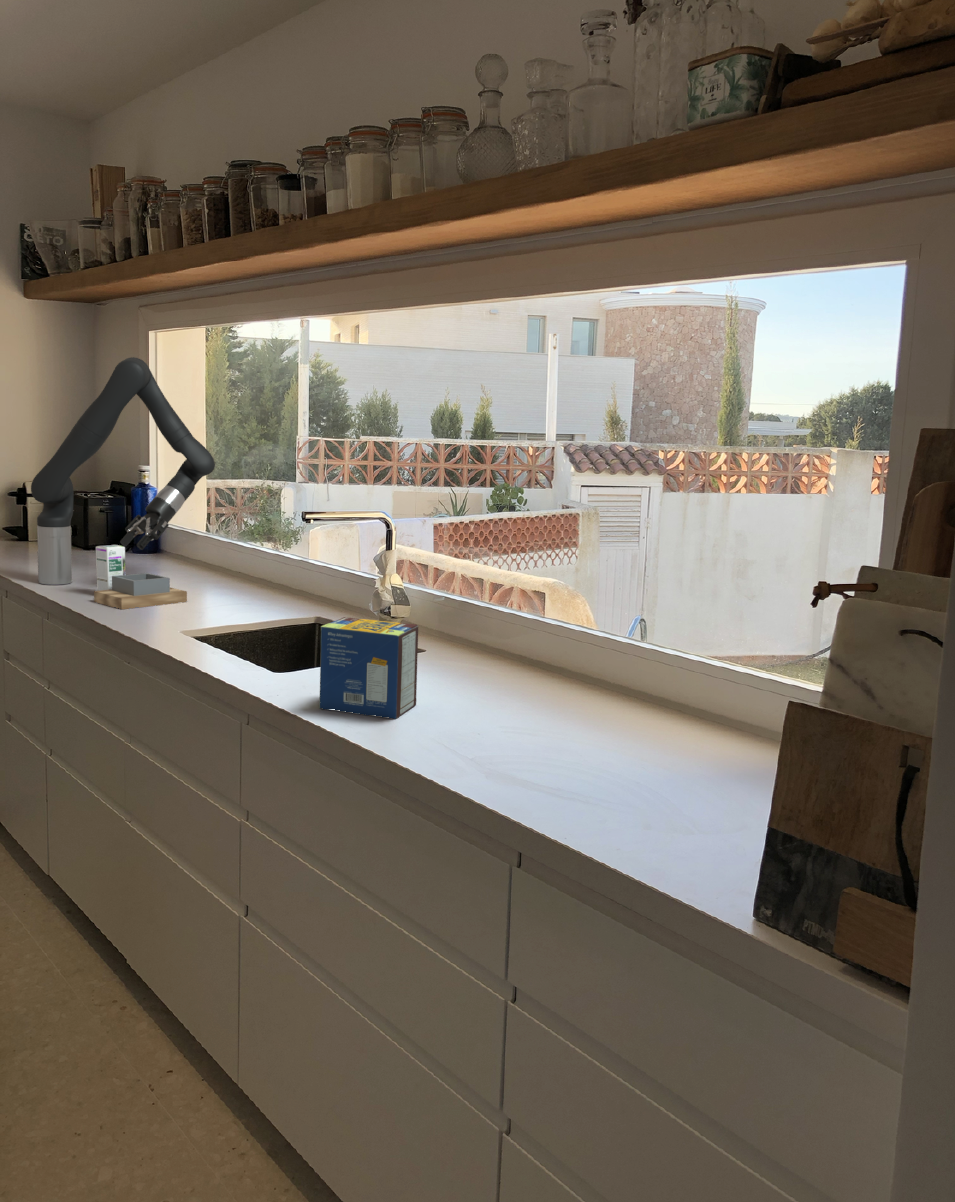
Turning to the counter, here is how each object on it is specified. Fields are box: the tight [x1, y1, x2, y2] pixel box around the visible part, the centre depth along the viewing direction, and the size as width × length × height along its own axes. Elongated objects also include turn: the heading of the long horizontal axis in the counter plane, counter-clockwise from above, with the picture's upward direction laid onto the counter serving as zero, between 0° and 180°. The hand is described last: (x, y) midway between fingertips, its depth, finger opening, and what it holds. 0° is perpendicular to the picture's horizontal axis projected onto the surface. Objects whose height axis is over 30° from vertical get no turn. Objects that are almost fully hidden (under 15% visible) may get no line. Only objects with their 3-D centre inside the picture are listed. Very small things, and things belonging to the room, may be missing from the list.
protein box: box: [318, 616, 419, 720], centre depth 184 cm, size 10×15×16 cm
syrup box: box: [95, 544, 127, 591], centre depth 283 cm, size 6×6×14 cm
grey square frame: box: [112, 572, 171, 596], centre depth 277 cm, size 11×11×4 cm
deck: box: [93, 587, 188, 610], centre depth 278 cm, size 14×20×3 cm
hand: (130, 546), depth 286 cm, fingers open, 8 cm apart
